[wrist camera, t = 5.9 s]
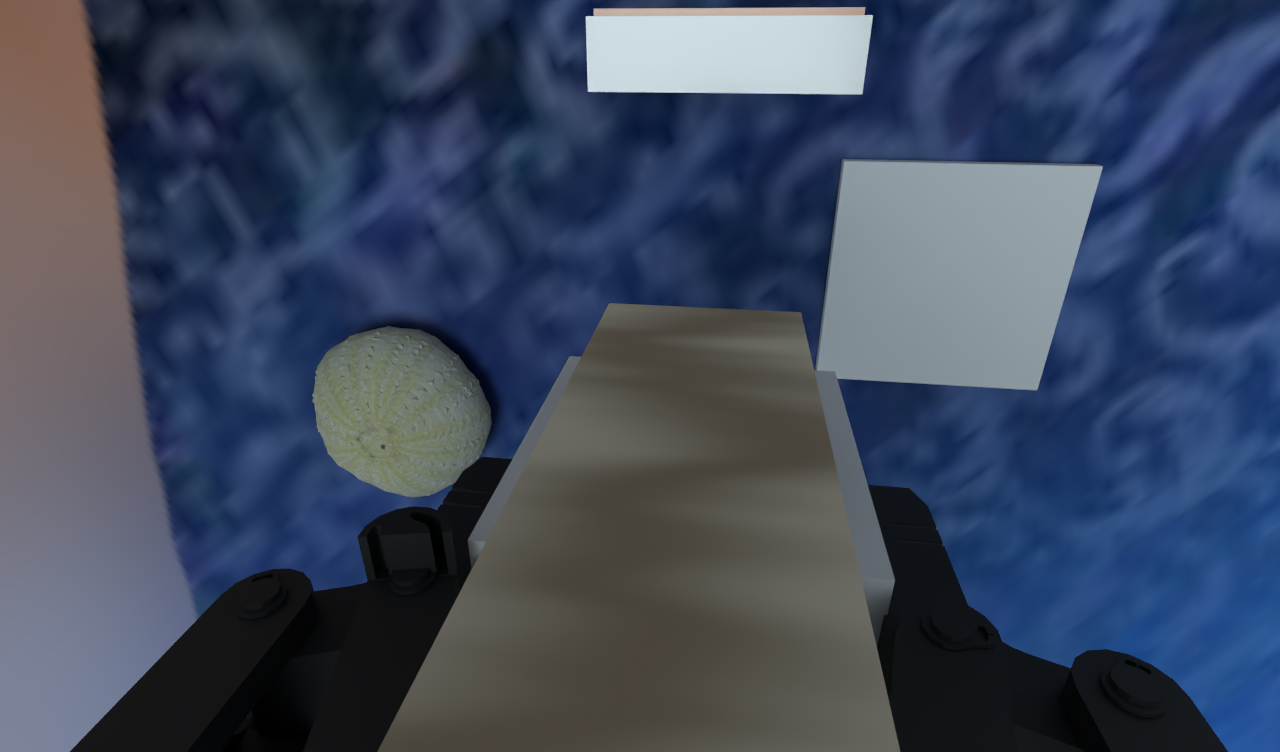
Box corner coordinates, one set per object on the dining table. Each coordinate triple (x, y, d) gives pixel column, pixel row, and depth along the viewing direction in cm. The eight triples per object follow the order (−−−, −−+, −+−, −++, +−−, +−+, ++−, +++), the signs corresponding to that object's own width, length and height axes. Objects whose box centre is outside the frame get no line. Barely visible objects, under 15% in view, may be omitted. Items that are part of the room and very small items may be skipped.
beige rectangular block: (800, 312, 16) (977, 1089, 4) (782, 474, 17) (863, 1310, 6) (609, 303, 16) (266, 964, 4) (612, 461, 18) (380, 1204, 6)
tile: (826, 81, 27) (862, 94, 19) (631, 79, 28) (588, 91, 20) (833, 19, 26) (874, 6, 18) (631, 20, 27) (585, 8, 19)
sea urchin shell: (436, 295, 32) (435, 460, 29) (513, 353, 39) (518, 489, 36) (277, 335, 34) (261, 492, 31) (377, 383, 41) (372, 514, 38)
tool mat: (1031, 384, 32) (1037, 390, 31) (814, 371, 33) (816, 377, 32) (1095, 164, 27) (1102, 166, 27) (842, 158, 28) (844, 161, 28)
